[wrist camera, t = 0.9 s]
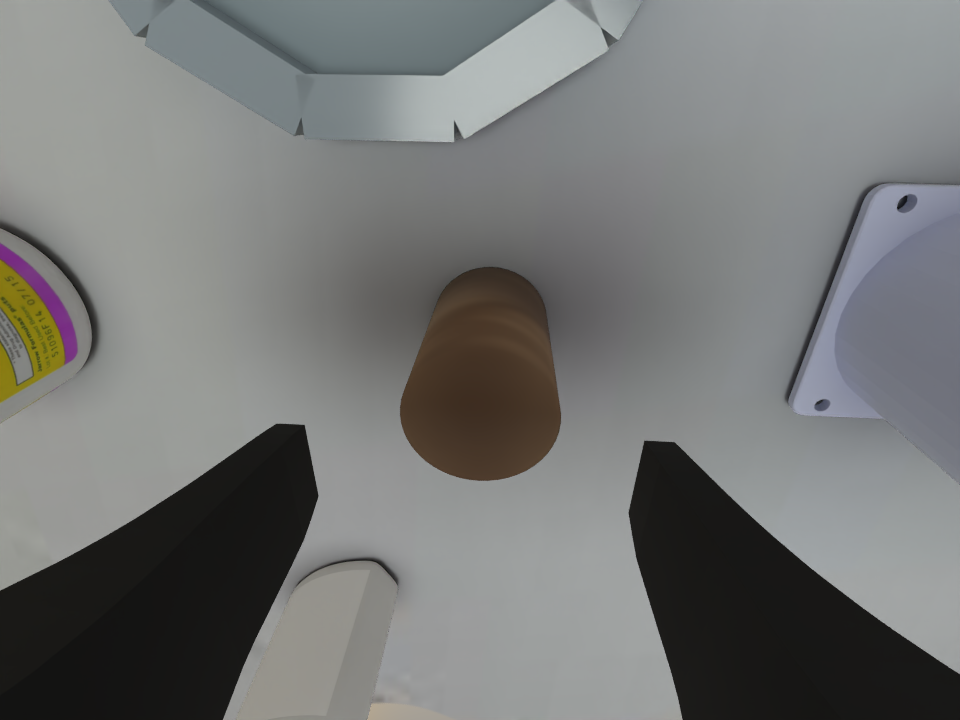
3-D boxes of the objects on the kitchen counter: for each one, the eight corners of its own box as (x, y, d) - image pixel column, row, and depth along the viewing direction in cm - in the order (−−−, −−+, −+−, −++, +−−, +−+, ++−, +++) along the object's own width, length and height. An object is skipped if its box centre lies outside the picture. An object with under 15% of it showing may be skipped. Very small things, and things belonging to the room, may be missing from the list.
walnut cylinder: (551, 269, 16) (568, 351, 11) (542, 372, 18) (553, 484, 13) (432, 265, 16) (394, 344, 11) (436, 367, 18) (405, 476, 13)
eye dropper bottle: (285, 552, 24) (105, 909, 13) (397, 558, 24) (304, 929, 13) (300, 608, 26) (155, 955, 16) (404, 614, 26) (327, 973, 15)
